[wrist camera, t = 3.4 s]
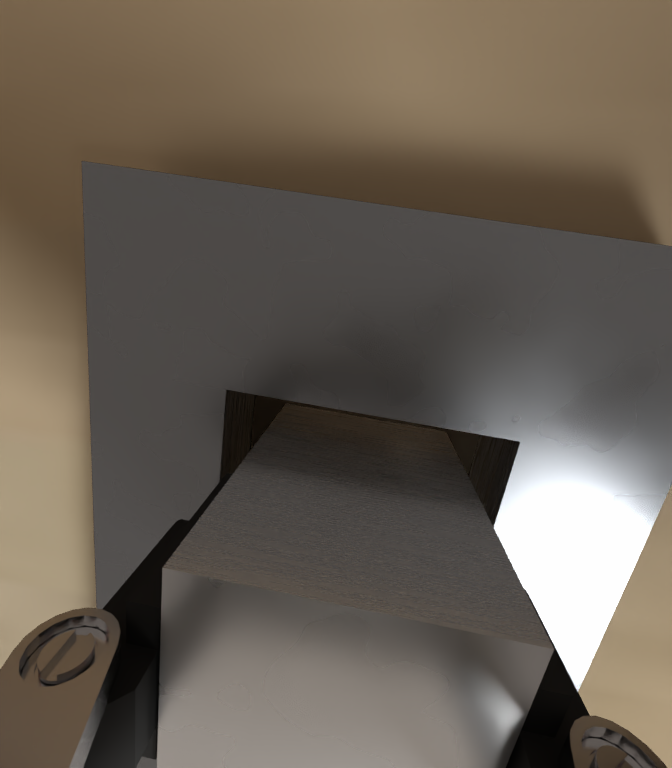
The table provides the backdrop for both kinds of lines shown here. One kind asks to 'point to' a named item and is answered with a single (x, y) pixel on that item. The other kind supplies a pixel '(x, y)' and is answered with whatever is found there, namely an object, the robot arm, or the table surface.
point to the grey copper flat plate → (380, 366)
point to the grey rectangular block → (345, 610)
